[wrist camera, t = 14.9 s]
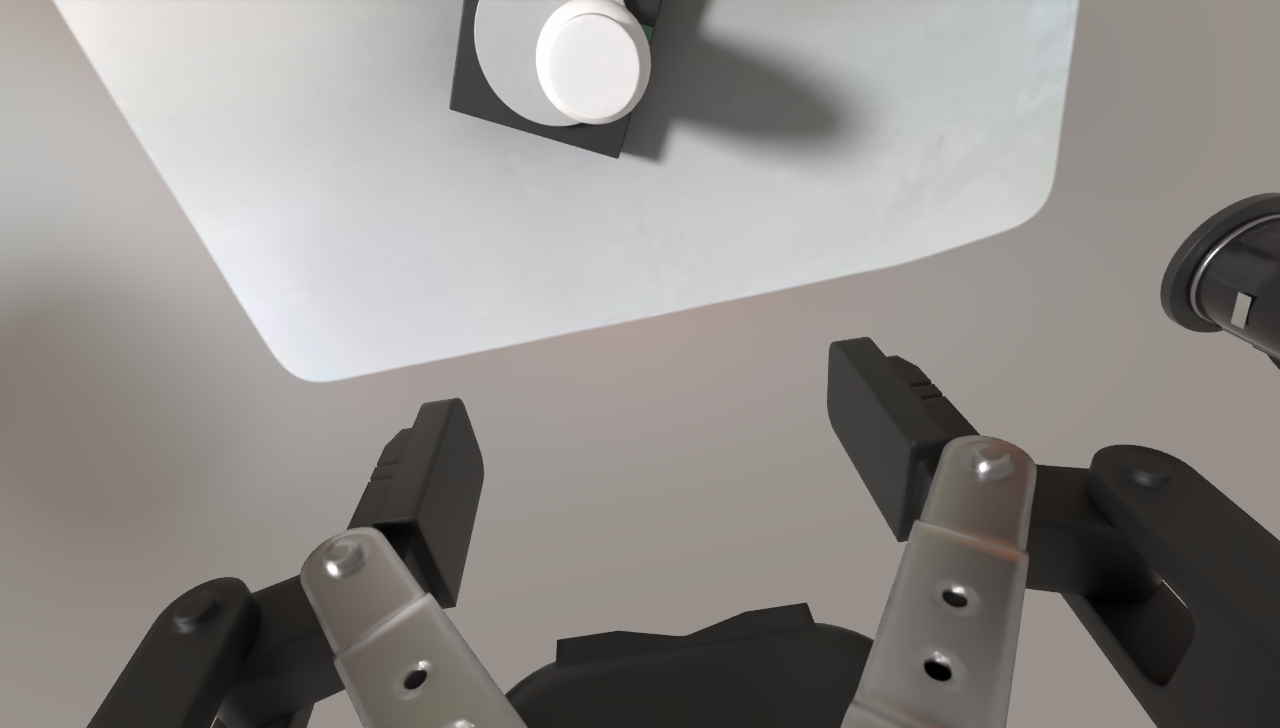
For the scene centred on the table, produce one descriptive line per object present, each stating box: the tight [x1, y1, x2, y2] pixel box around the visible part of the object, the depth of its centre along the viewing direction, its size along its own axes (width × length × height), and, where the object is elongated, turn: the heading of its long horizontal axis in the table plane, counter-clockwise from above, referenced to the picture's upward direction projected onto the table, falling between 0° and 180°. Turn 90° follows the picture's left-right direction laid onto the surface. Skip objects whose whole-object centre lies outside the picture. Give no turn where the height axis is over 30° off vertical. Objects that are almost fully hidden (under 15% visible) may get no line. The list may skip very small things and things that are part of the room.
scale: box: [449, 0, 662, 158], centre depth 33 cm, size 10×10×3 cm
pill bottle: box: [536, 0, 651, 124], centre depth 29 cm, size 5×5×9 cm
